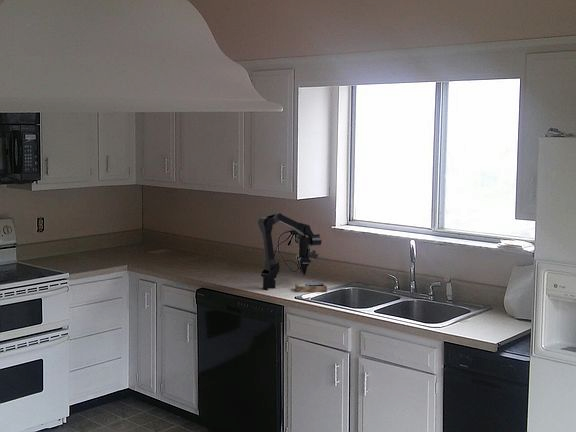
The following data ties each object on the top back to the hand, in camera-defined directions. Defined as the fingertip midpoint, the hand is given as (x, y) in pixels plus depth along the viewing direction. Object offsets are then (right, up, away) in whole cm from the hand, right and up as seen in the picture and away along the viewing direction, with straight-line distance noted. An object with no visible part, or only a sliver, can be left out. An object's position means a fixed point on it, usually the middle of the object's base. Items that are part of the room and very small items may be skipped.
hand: (303, 273), depth 425 cm
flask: (+7, -9, -19) cm, 22 cm away
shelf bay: (+4, -8, -19) cm, 20 cm away
